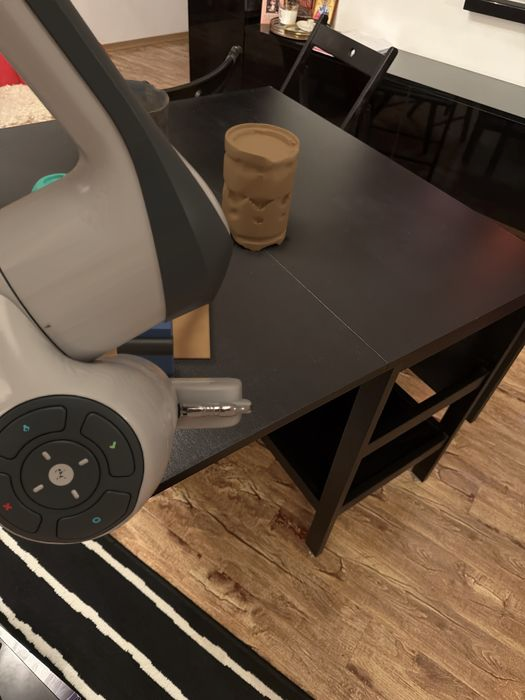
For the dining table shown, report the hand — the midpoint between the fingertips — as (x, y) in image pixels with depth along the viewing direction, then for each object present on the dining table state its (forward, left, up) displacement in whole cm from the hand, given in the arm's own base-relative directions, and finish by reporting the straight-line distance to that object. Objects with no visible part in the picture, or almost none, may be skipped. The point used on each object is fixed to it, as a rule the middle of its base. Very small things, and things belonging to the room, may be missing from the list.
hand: (139, 390), depth 50 cm
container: (+17, +48, -11) cm, 52 cm away
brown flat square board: (0, +22, -11) cm, 25 cm away
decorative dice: (-17, +48, -11) cm, 52 cm away
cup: (-8, +70, -11) cm, 72 cm away
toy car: (0, +10, -11) cm, 15 cm away
